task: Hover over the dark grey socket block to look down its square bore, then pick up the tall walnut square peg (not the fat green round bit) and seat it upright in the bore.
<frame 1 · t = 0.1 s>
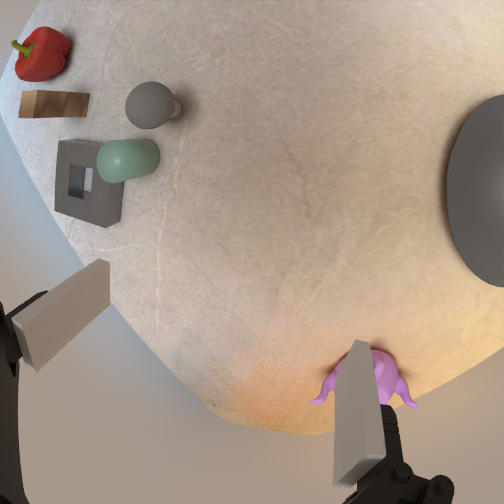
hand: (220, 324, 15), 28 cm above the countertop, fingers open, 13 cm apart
bore block: (95, 178, 44), on the countertop
teapot: (362, 369, 47), on the countertop
vegetable: (58, 57, 38), on the countertop
walnut square peg: (79, 104, 40), on the countertop
green round bit: (143, 156, 42), on the countertop
light bulb: (174, 109, 39), on the countertop
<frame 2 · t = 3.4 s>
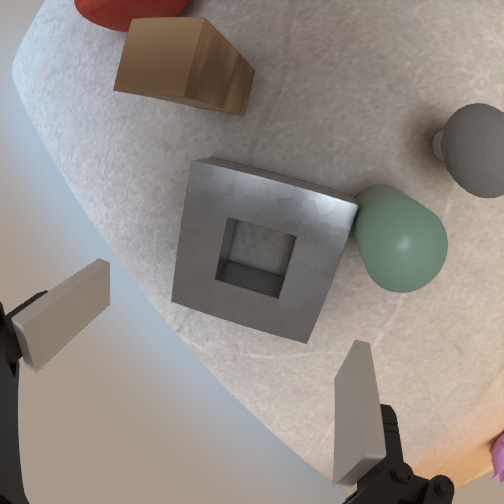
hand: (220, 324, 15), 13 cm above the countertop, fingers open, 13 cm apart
bore block: (262, 242, 26), on the countertop
walnut square peg: (225, 89, 22), on the countertop
green round bit: (381, 217, 24), on the countertop
light bulb: (442, 146, 21), on the countertop
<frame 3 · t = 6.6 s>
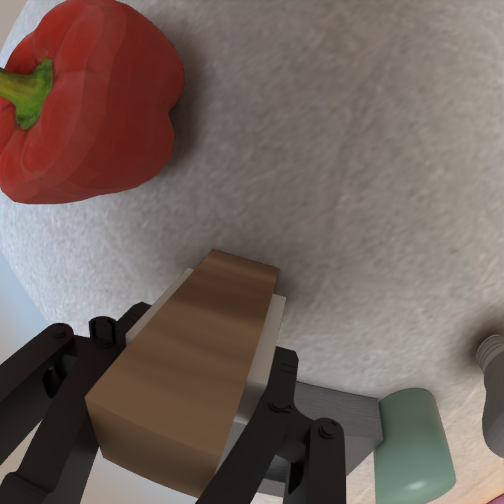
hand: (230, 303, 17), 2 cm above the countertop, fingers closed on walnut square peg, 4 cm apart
bore block: (279, 428, 22), on the countertop
teapot: (500, 499, 25), on the countertop
vegetable: (130, 106, 16), on the countertop
walnut square peg: (238, 288, 18), on the countertop, touching gripper
green round bit: (403, 411, 20), on the countertop
light bulb: (486, 343, 16), on the countertop
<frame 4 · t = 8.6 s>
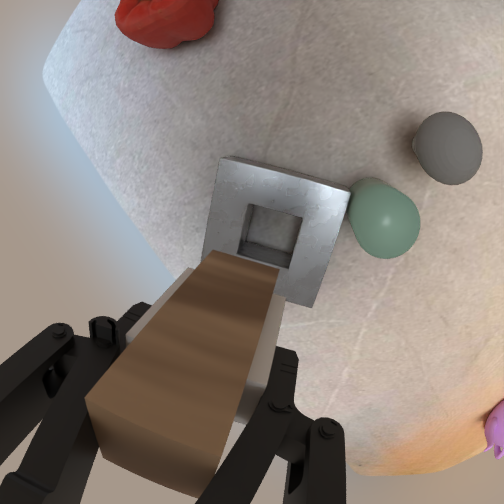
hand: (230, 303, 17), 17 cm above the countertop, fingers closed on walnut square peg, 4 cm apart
bore block: (274, 225, 32), on the countertop
vegetable: (185, 16, 26), on the countertop
walnut square peg: (238, 288, 18), point 15 cm above the countertop, touching gripper
green round bit: (370, 204, 29), on the countertop
light bulb: (421, 145, 26), on the countertop
when the fingers open (5 cm above the countertop, at t = 11.0 s): walnut square peg drops 3 cm, resting in bore block.
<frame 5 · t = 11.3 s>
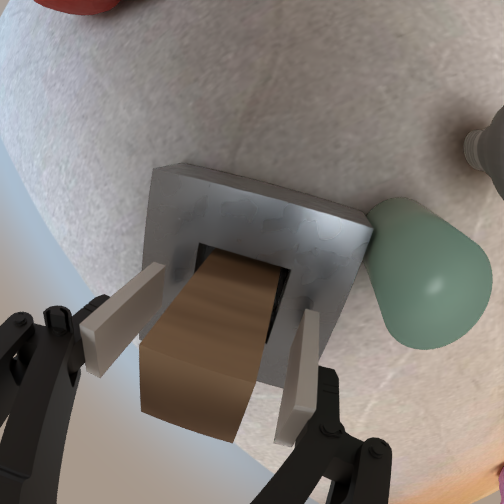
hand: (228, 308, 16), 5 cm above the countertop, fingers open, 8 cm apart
bore block: (248, 269, 21), on the countertop
walnut square peg: (248, 269, 21), resting in bore block
green round bit: (398, 239, 18), on the countertop
light bulb: (474, 149, 15), on the countertop
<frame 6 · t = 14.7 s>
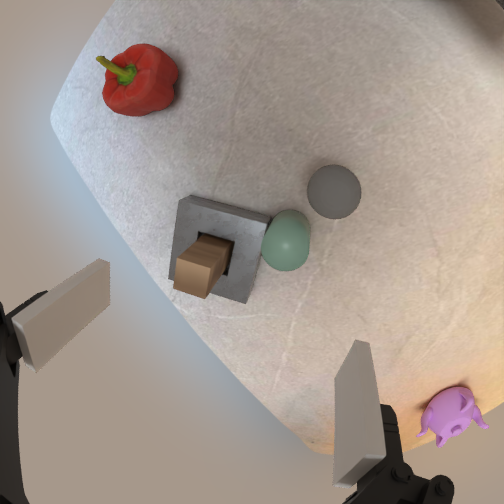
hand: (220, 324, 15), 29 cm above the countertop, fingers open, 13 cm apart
bore block: (221, 244, 45), on the countertop
teapot: (446, 401, 48), on the countertop
vegetable: (155, 84, 38), on the countertop
walnut square peg: (221, 244, 45), resting in bore block
green round bit: (290, 229, 42), on the countertop
light bulb: (330, 183, 39), on the countertop
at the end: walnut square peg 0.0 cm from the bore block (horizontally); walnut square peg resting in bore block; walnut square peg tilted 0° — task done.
